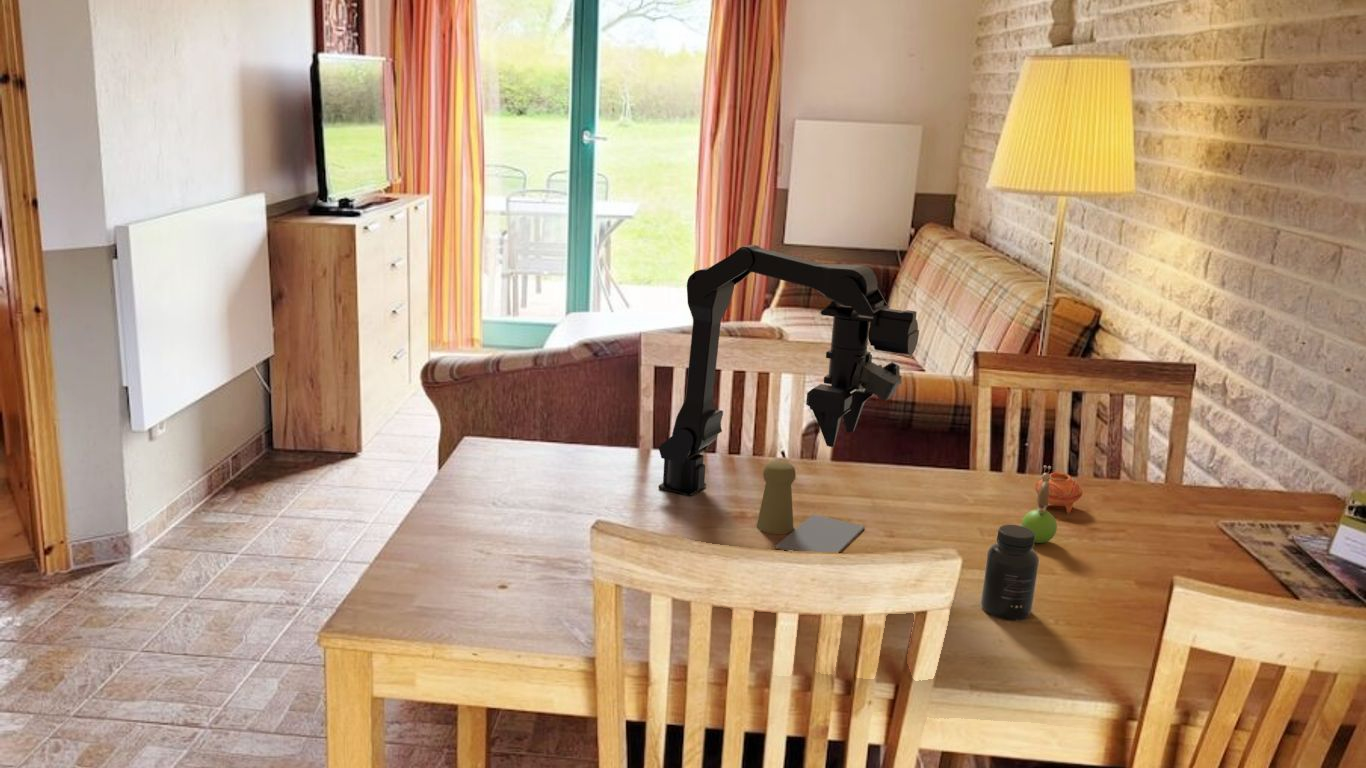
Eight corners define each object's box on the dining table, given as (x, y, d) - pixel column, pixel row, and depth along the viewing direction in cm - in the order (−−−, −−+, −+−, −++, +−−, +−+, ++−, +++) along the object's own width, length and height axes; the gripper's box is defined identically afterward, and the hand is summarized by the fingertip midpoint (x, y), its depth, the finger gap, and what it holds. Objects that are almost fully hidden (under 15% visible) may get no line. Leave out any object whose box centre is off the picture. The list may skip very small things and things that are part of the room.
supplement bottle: (973, 598, 153) (983, 520, 149) (1019, 599, 153) (1031, 521, 150) (990, 621, 146) (1002, 540, 143) (1038, 622, 147) (1051, 541, 143)
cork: (791, 536, 171) (797, 471, 168) (754, 531, 172) (759, 467, 169) (795, 522, 177) (800, 459, 174) (759, 518, 178) (763, 455, 175)
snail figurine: (1054, 536, 177) (1065, 467, 174) (1054, 550, 171) (1065, 480, 168) (1020, 530, 179) (1030, 462, 176) (1019, 544, 173) (1029, 474, 170)
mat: (775, 548, 166) (775, 545, 166) (813, 516, 180) (813, 514, 180) (829, 562, 162) (830, 559, 162) (864, 528, 176) (864, 526, 176)
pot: (1092, 510, 189) (1092, 476, 186) (1058, 525, 186) (1058, 491, 184) (1058, 493, 196) (1058, 460, 193) (1025, 507, 193) (1025, 474, 190)
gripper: (879, 364, 158) (869, 464, 162) (915, 343, 174) (905, 434, 178) (809, 353, 163) (801, 450, 167) (850, 333, 179) (842, 422, 183)
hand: (840, 439), depth 174 cm, fingers open, 9 cm apart
